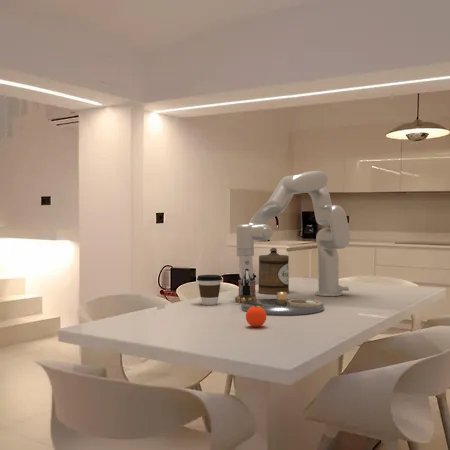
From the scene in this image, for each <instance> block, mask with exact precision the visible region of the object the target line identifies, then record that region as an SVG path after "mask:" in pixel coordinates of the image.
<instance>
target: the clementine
mask: <svg viewBox="0 0 450 450" xmlns="http://www.w3.org/2000/svg"><path fill="white" fill-rule="evenodd" d="M245 320H246V322H247V324H248V325H249V326H250V327H253V328H259V327H261V326H263V325H264V324H265V322H266V320H267V315H266V313H265V311H264V309H263V307H262V306H253V307H251V308H249V309H248V311H247V312H246V313H245Z"/></svg>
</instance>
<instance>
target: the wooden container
mask: <svg viewBox="0 0 450 450" xmlns="http://www.w3.org/2000/svg"><path fill="white" fill-rule="evenodd" d="M269 251H270V253H268V254H264V255H263V254H261V255H258V293H259V294H261V295H275V296H277V292H287V294H289V291H290V290H289V289H290V287H289V286H290V285H289V284H290V275H289V274H290V272H289V271H290V270H289V269H290V267H289V266H290V265H289V264H290V263H289V262H290V261H289V260H290V259H289V257H290V256H289V255H285V254H279V253H278V249H277V248H276V247H271V248H269Z"/></svg>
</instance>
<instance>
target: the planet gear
mask: <svg viewBox="0 0 450 450" xmlns="http://www.w3.org/2000/svg"><path fill="white" fill-rule="evenodd" d="M253 300H257V296H256V297H253V296H251V285H250V295H243V285H240V296H238V295H237V296H235V297H234V303H238V304H242V303H244V302H248V301H253Z"/></svg>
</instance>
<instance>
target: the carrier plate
mask: <svg viewBox="0 0 450 450" xmlns="http://www.w3.org/2000/svg"><path fill="white" fill-rule="evenodd" d="M253 306H262V307H263V309H264V311H265V313H266V316H273V317H274V316H277V317H278V316H280V317H282V316H283V317H284V316H286V317H287V316H289V317H290V316H291V317H292V316H306V315H307V316H308V315H314V314H318V313H322V312H324V309H325V306H324V304H323V303H322V301H320V300H319V299H309V298H288V293H287V292H277V295H276V298H270V299H269V298H267V299H266V298H264V299H256V300H253V301H248V302H244V303H240V310H241V311H243V312H246V313H247V311H248V309H249V308H251V307H253Z"/></svg>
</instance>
